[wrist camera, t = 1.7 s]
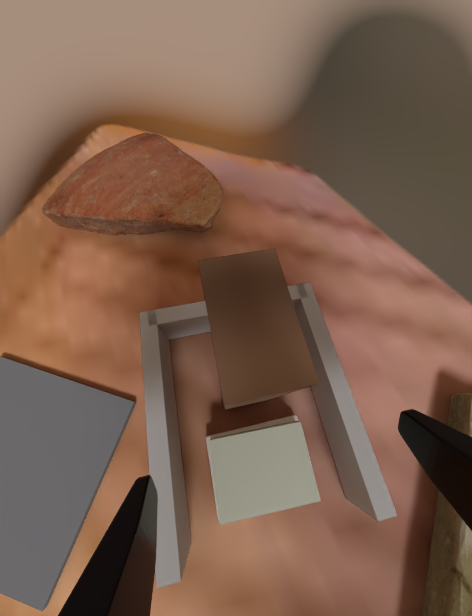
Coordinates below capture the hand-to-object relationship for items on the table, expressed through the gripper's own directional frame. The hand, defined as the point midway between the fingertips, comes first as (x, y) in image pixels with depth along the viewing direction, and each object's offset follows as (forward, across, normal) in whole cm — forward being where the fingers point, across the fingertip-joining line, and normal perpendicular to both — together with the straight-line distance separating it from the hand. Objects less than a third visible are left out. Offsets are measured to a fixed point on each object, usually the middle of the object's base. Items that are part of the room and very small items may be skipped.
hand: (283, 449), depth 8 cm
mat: (+9, +17, +7) cm, 20 cm away
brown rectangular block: (+11, 0, +5) cm, 12 cm away
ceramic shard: (+25, +6, -8) cm, 27 cm away
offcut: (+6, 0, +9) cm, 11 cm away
